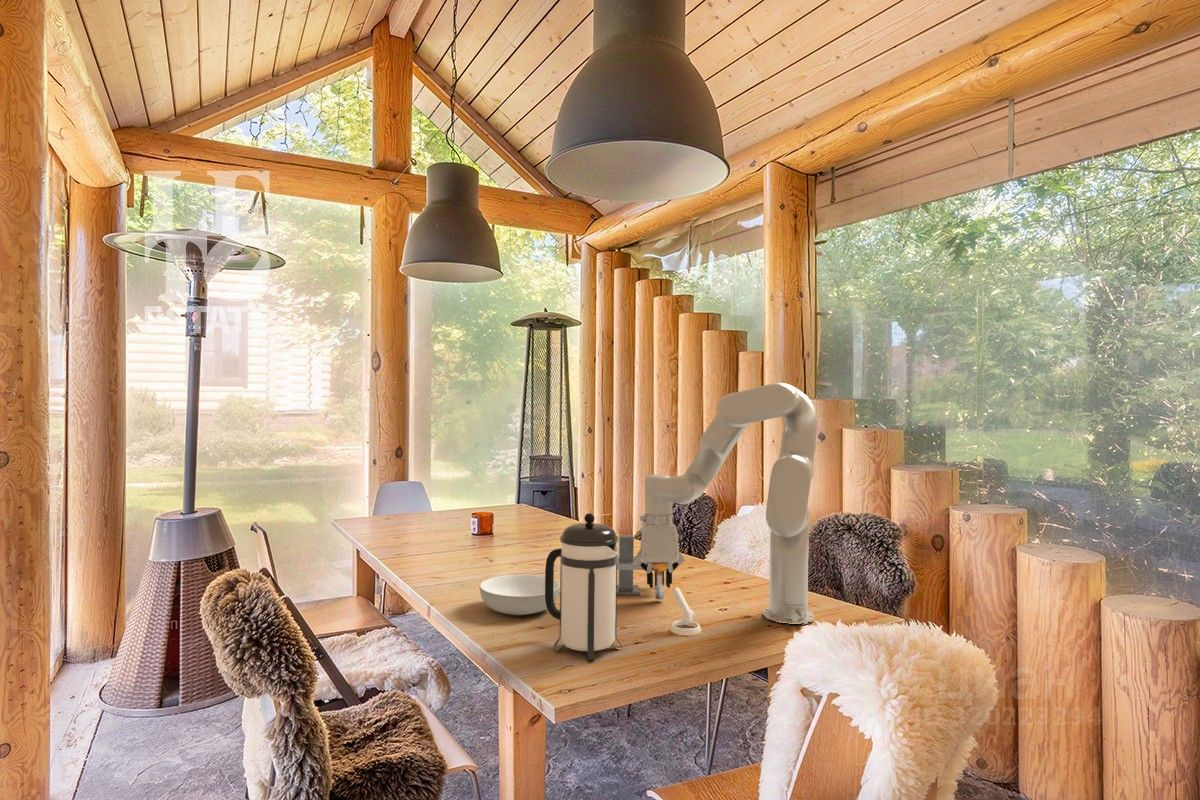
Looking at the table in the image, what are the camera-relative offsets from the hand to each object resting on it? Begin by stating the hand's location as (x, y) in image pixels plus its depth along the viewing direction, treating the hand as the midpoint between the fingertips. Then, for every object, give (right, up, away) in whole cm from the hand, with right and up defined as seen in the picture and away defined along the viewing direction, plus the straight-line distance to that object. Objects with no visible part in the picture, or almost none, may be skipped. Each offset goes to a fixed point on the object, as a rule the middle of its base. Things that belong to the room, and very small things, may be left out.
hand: (659, 585), depth 186 cm
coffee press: (-20, -4, -37) cm, 42 cm away
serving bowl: (-37, -4, -9) cm, 39 cm away
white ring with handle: (+4, -5, -24) cm, 24 cm away
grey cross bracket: (-5, -4, +10) cm, 12 cm away
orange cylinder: (0, -3, 0) cm, 3 cm away
